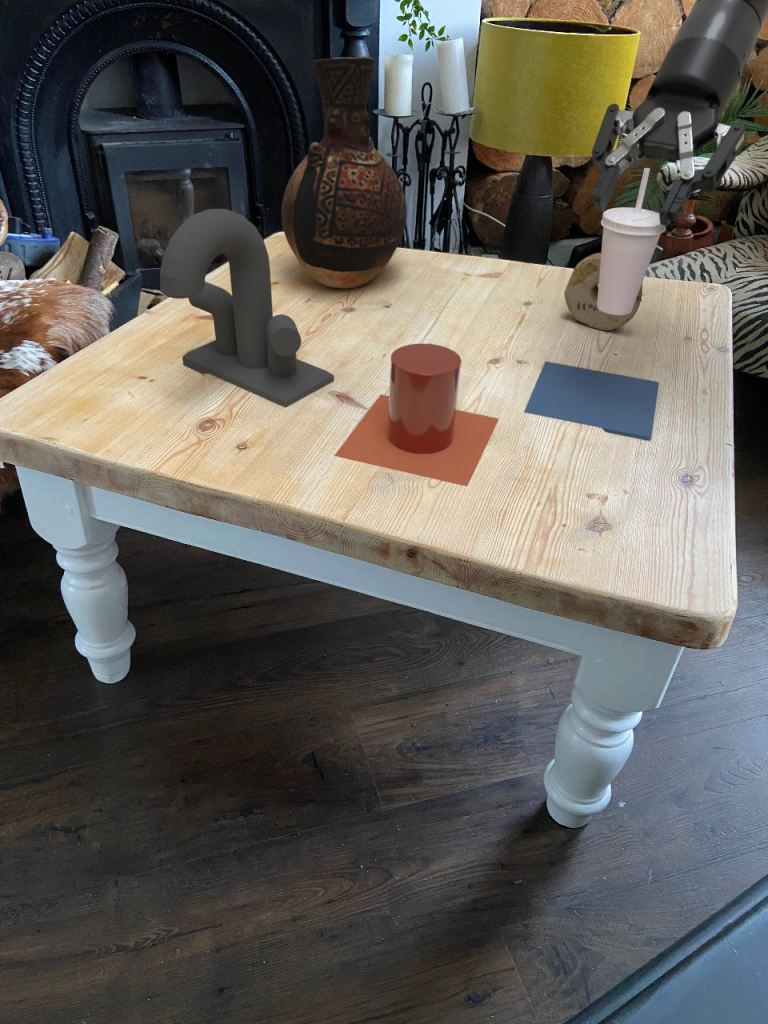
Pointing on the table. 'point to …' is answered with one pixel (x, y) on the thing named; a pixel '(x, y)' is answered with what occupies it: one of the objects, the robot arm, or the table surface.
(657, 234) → the smoothie
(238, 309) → the faucet
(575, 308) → the stone disc
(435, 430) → the canister
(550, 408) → the blue mat
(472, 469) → the terracotta mat
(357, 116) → the ceramic vessel
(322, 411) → the table surface
